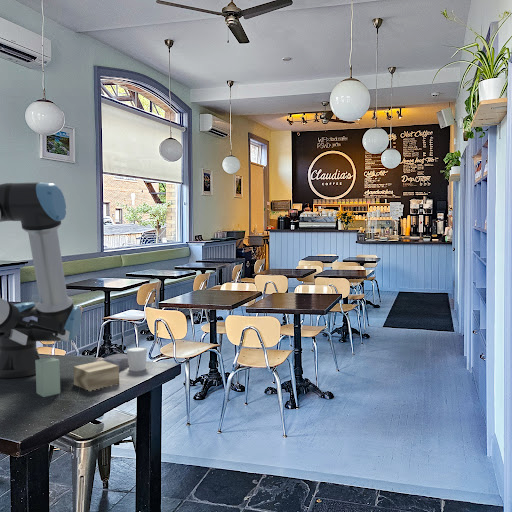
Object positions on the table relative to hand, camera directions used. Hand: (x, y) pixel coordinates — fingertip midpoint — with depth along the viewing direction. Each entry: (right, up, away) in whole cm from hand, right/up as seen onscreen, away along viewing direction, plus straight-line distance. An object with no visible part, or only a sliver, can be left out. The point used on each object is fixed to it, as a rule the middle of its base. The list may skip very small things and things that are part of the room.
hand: (46, 338), depth 155 cm
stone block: (+10, -16, +36) cm, 40 cm away
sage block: (-2, -17, +5) cm, 18 cm away
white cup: (+19, -15, +31) cm, 40 cm away
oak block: (+10, -17, +14) cm, 24 cm away
